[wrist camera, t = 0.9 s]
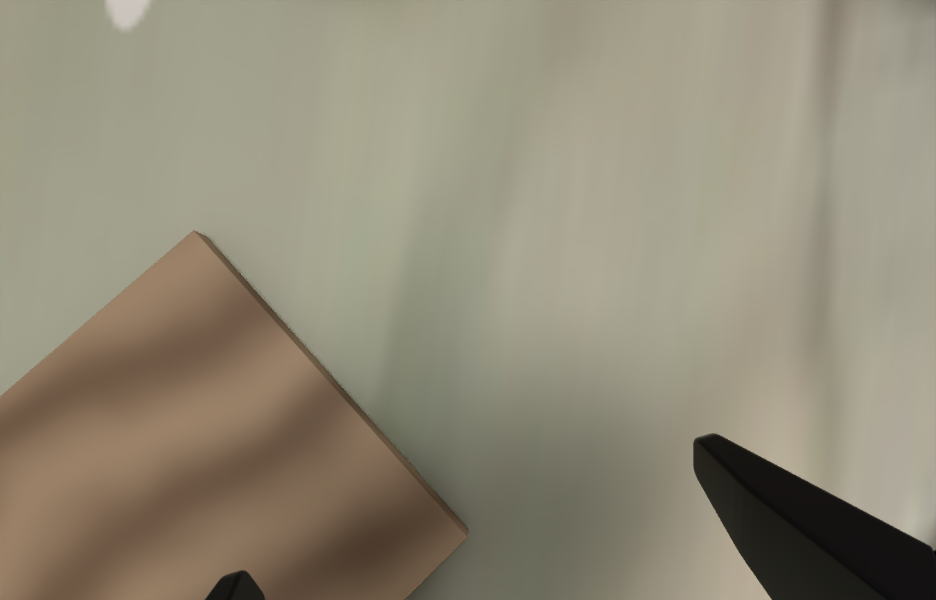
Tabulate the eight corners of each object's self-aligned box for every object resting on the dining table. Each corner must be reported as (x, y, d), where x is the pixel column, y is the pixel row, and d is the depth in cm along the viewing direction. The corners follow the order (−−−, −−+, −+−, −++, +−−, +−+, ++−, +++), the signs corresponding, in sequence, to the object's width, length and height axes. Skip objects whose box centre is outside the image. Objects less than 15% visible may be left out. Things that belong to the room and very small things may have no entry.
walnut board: (467, 528, 23) (467, 536, 22) (143, 850, 22) (124, 879, 20) (206, 236, 25) (193, 230, 24) (-110, 509, 24) (-141, 517, 22)
